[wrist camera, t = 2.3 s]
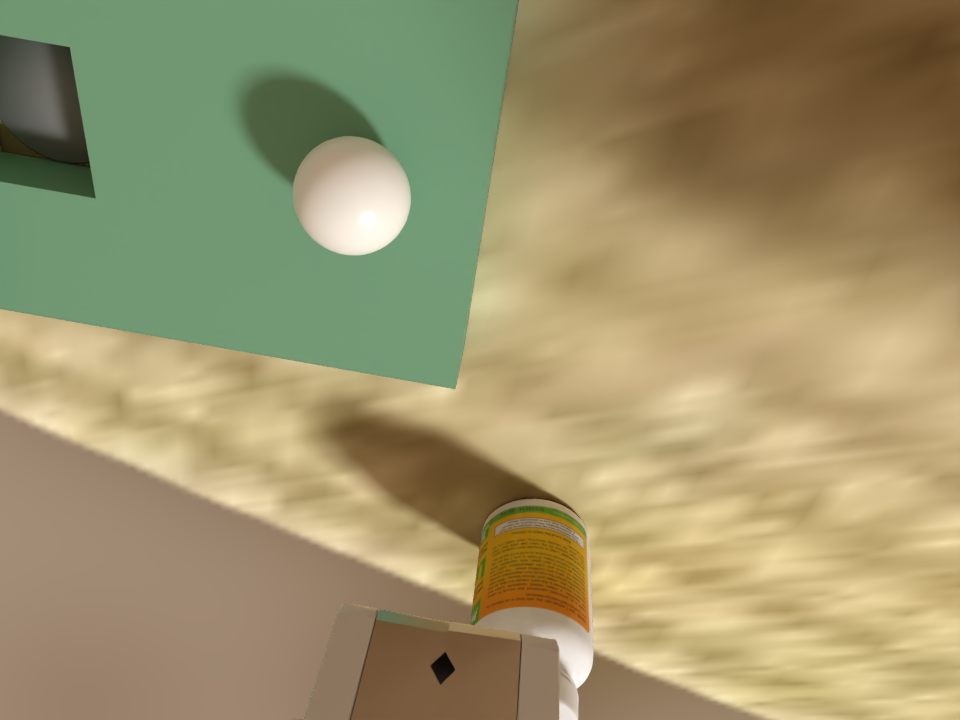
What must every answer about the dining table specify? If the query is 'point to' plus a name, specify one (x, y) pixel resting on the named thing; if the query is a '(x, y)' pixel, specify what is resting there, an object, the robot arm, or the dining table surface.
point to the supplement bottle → (539, 585)
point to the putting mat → (248, 170)
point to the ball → (351, 195)
